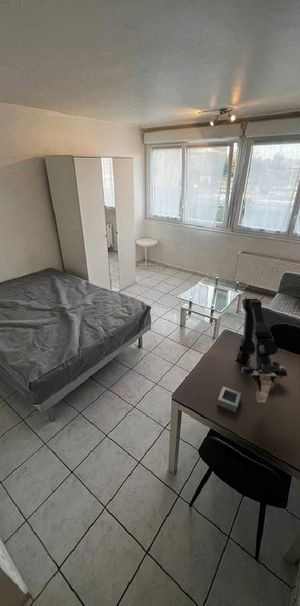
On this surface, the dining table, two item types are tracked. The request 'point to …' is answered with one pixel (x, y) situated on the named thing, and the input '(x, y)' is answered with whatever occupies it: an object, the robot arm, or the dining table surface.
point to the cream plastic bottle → (263, 389)
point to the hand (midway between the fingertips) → (264, 391)
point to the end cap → (229, 399)
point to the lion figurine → (279, 376)
